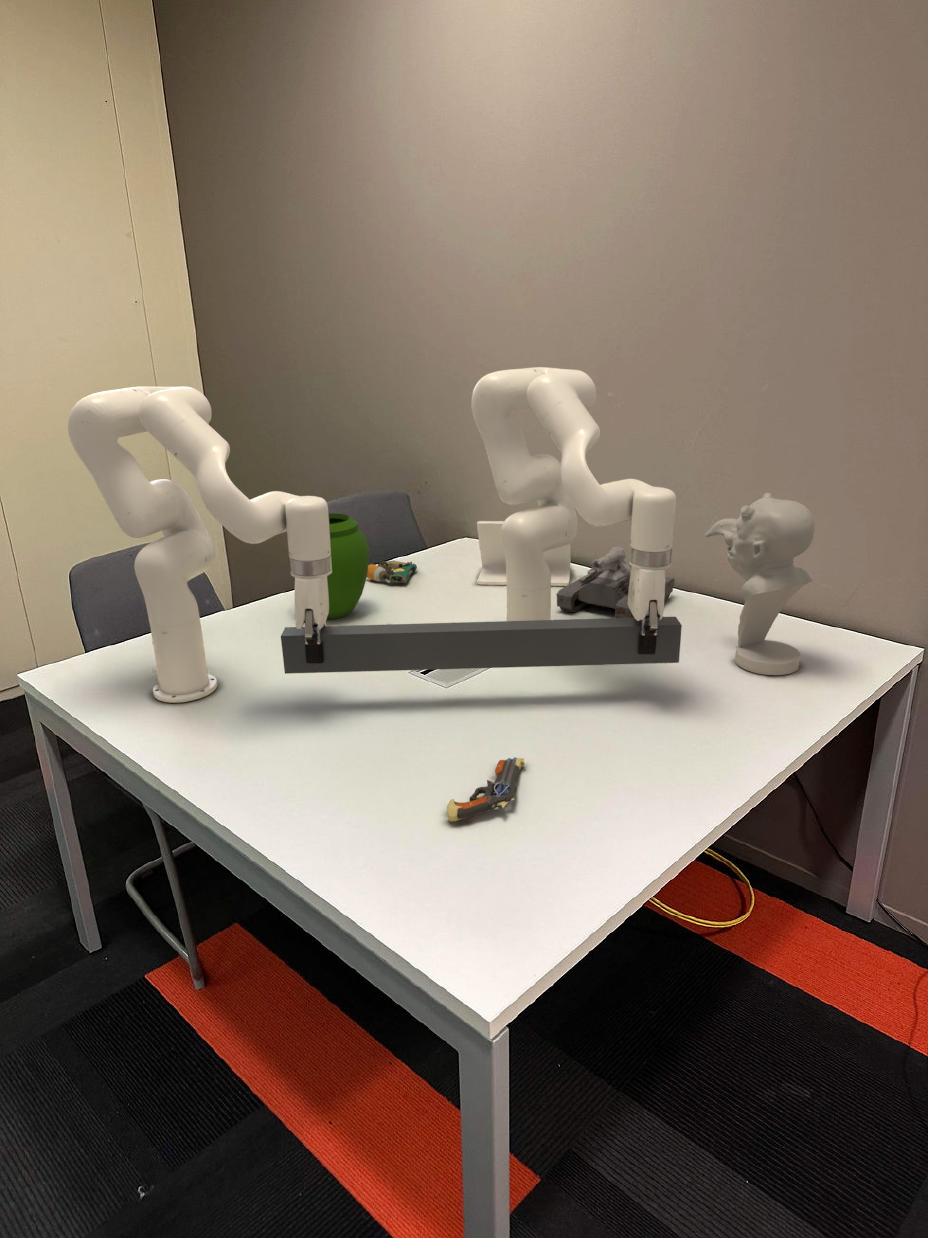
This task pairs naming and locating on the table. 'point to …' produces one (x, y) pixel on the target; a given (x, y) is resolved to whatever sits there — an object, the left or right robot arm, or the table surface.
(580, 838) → the table surface
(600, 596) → the toy
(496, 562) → the tablet stand
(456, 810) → the toy gun
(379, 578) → the spray gun
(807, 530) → the bust sculpture
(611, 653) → the post
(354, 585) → the vase
